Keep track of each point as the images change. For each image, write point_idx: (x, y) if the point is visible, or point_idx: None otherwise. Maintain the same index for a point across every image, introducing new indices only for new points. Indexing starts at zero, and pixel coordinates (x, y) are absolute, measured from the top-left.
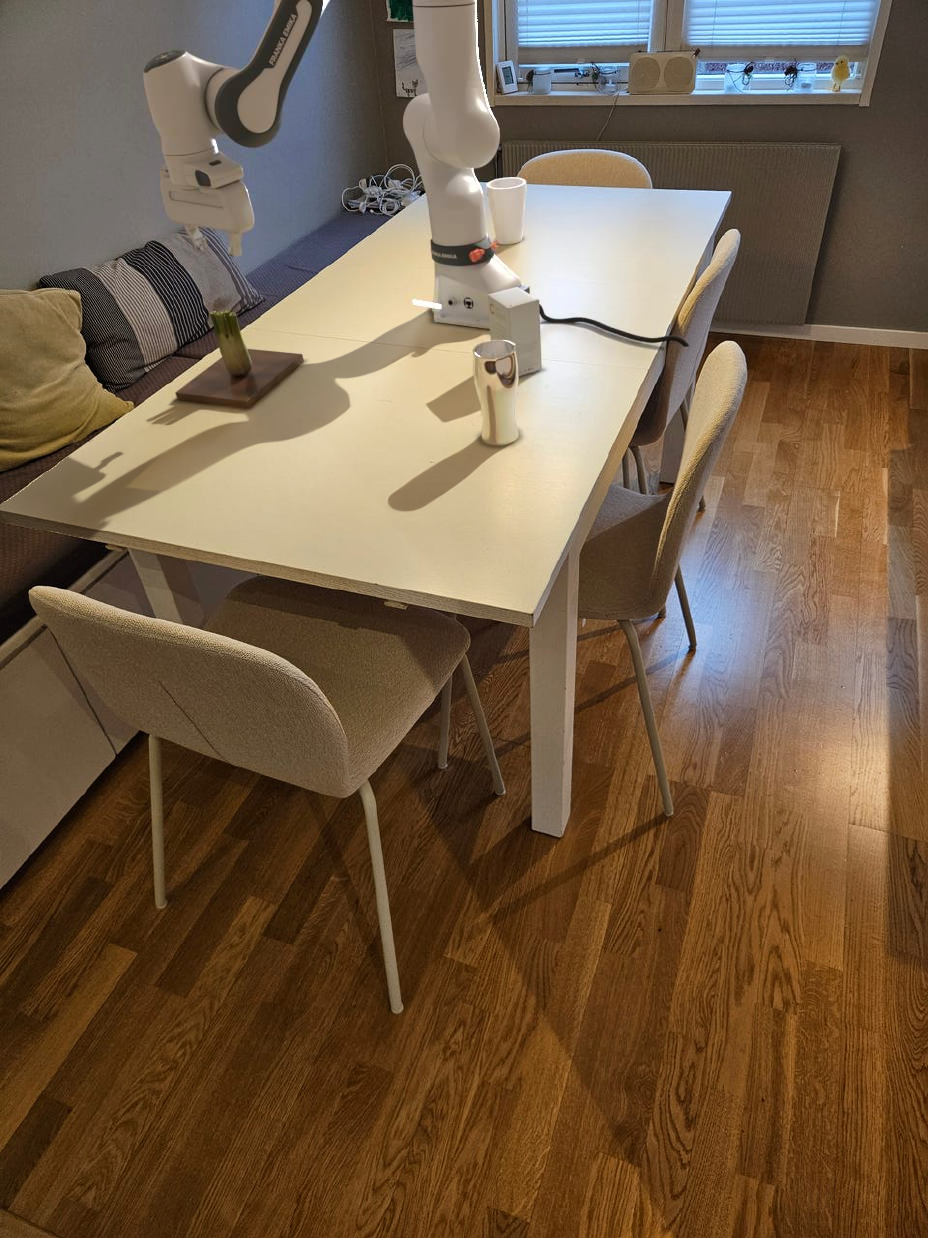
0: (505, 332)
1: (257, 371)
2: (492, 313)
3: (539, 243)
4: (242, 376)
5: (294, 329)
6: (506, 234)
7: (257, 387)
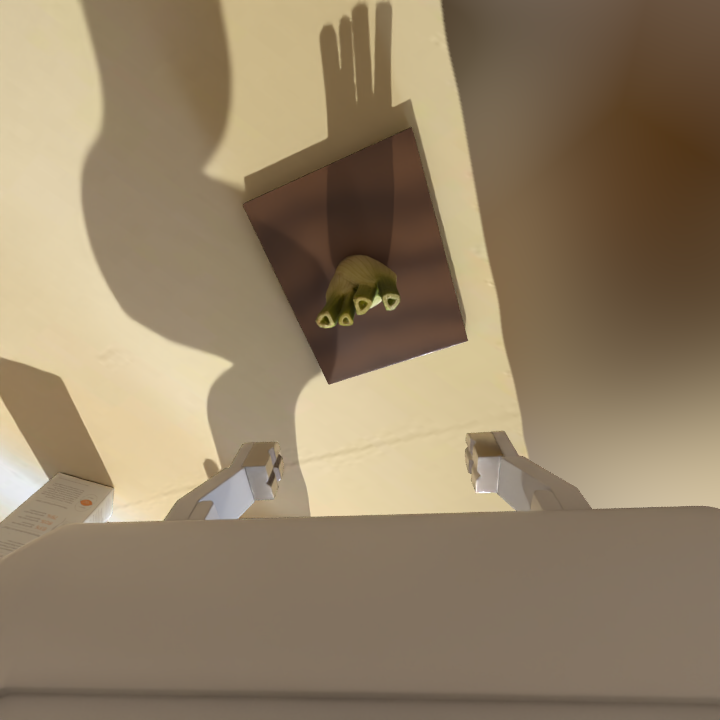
0: (15, 524)
1: None
2: None
3: None
4: None
5: (444, 442)
6: None
7: (278, 256)
